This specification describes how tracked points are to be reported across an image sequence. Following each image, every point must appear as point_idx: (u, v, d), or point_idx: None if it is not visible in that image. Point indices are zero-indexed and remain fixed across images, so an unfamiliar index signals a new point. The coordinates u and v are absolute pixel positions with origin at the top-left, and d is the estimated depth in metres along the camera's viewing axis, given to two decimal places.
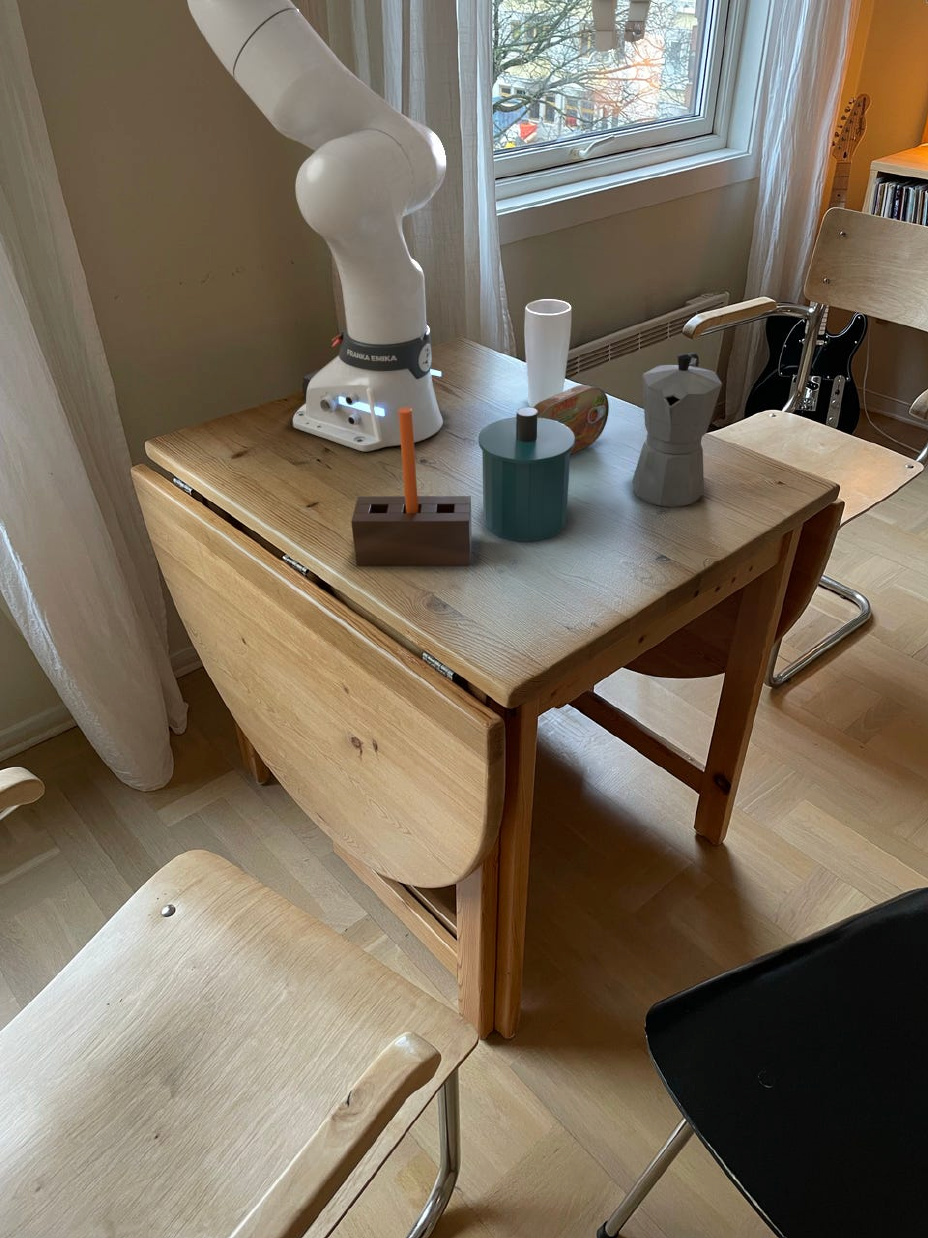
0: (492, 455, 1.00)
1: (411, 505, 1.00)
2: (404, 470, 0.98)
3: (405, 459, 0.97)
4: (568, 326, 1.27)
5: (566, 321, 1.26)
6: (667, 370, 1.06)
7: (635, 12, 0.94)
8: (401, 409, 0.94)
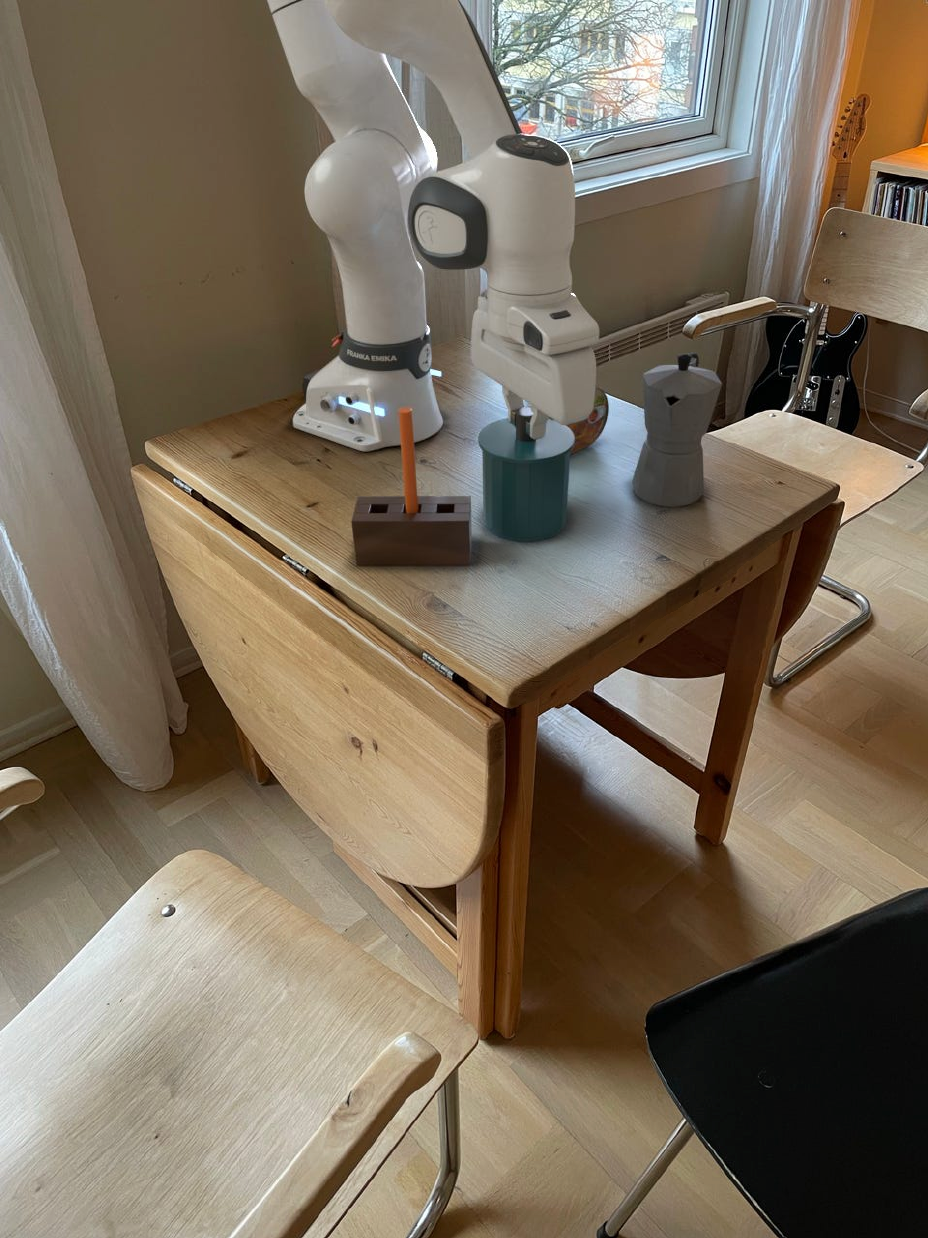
0: (492, 455, 1.00)
1: (411, 505, 1.00)
2: (404, 470, 0.98)
3: (405, 459, 0.97)
4: None
5: None
6: (667, 370, 1.06)
7: (514, 402, 1.03)
8: (401, 409, 0.94)
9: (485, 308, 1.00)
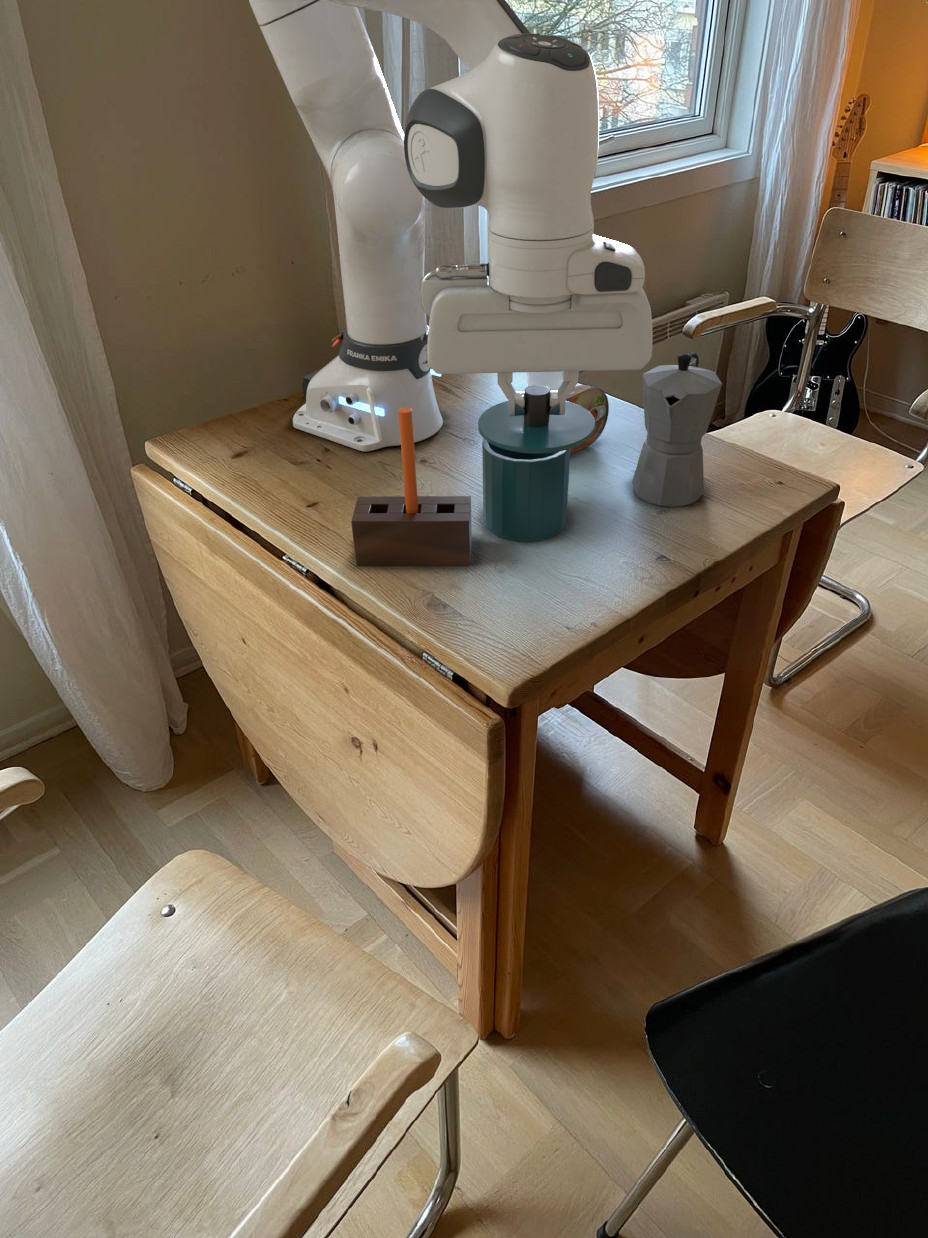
0: (554, 450, 0.81)
1: (411, 505, 1.00)
2: (404, 470, 0.98)
3: (405, 459, 0.97)
4: None
5: None
6: (667, 370, 1.06)
7: (512, 389, 0.83)
8: (401, 409, 0.94)
9: (452, 289, 0.77)
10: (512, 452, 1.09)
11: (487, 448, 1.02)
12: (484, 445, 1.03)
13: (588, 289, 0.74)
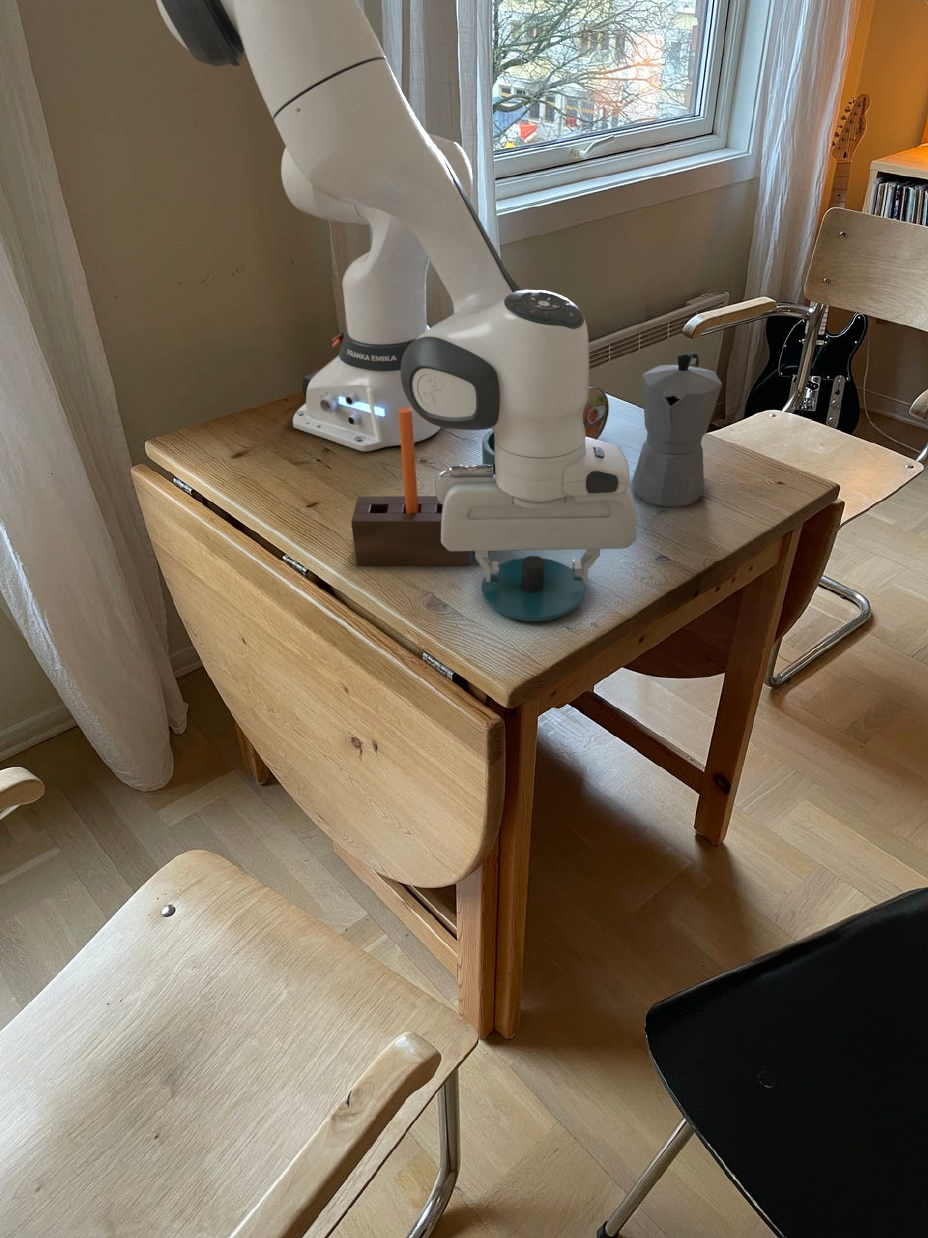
0: (548, 618, 0.93)
1: (411, 505, 1.00)
2: (404, 470, 0.98)
3: (405, 459, 0.97)
4: None
5: None
6: (667, 370, 1.06)
7: (488, 561, 0.95)
8: (401, 409, 0.94)
9: (463, 486, 0.89)
10: None
11: (487, 448, 1.02)
12: (484, 445, 1.03)
13: (581, 492, 0.86)
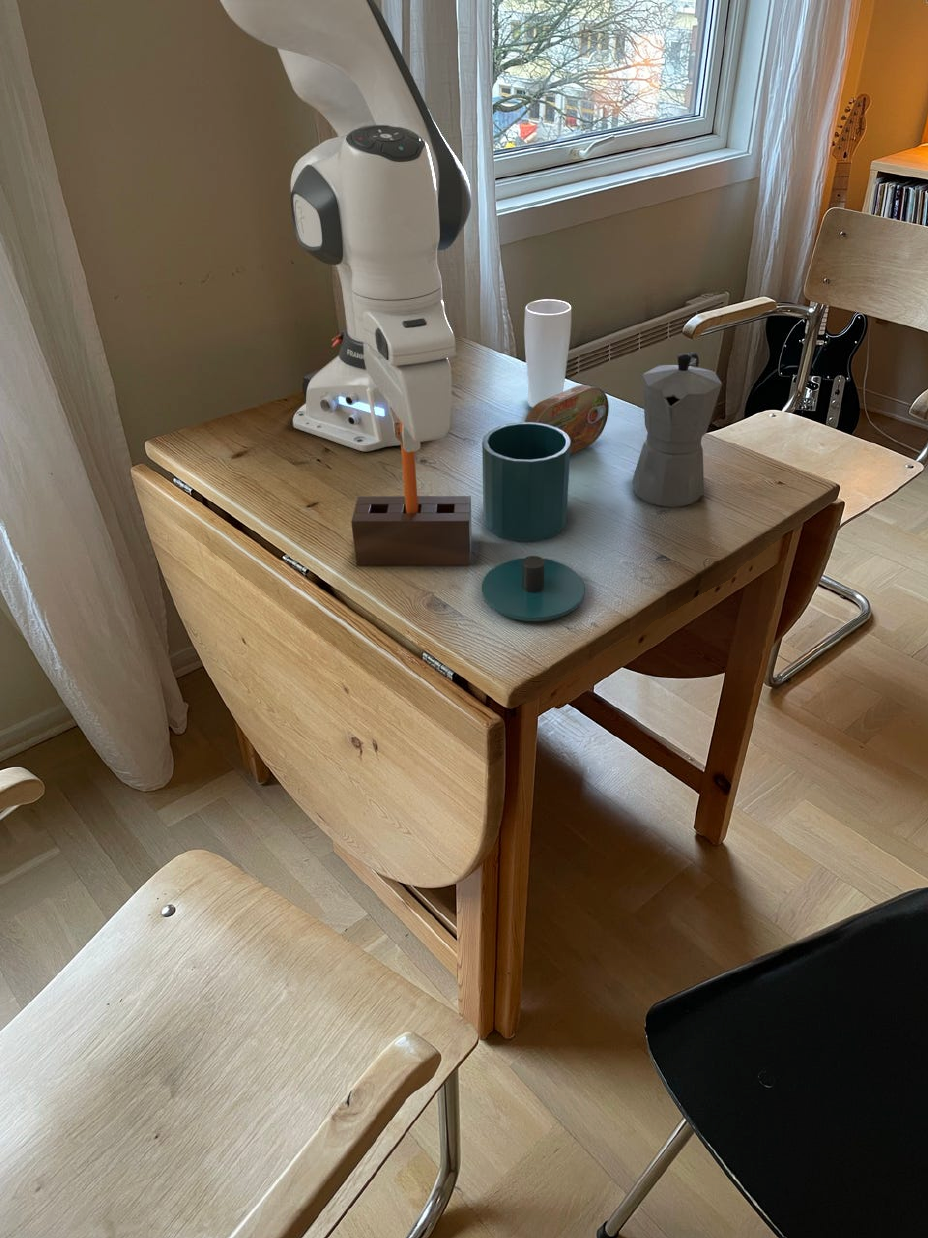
0: (548, 618, 0.93)
1: (411, 505, 1.00)
2: (404, 470, 0.98)
3: (405, 459, 0.97)
4: (568, 326, 1.27)
5: (566, 321, 1.26)
6: (667, 370, 1.06)
7: None
8: None
9: None
10: (512, 452, 1.09)
11: (487, 448, 1.02)
12: (484, 445, 1.03)
13: (374, 346, 0.85)
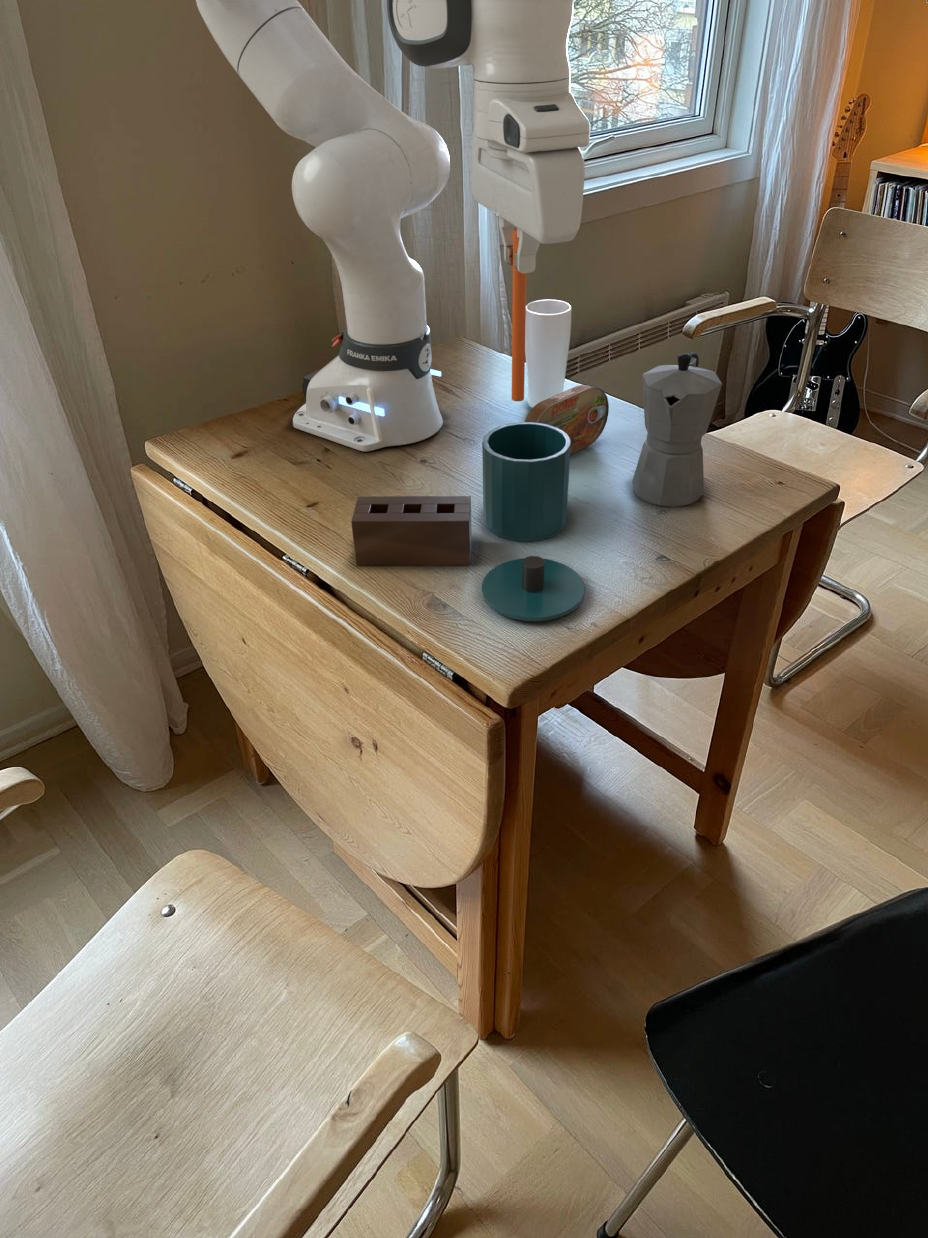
0: (548, 618, 0.93)
1: (519, 341, 0.95)
2: (514, 300, 0.93)
3: (516, 287, 0.92)
4: (568, 326, 1.27)
5: (566, 321, 1.26)
6: (667, 370, 1.06)
7: (511, 237, 0.91)
8: (516, 229, 0.89)
9: None
10: (512, 452, 1.09)
11: (487, 448, 1.02)
12: (484, 445, 1.03)
13: (500, 139, 0.80)
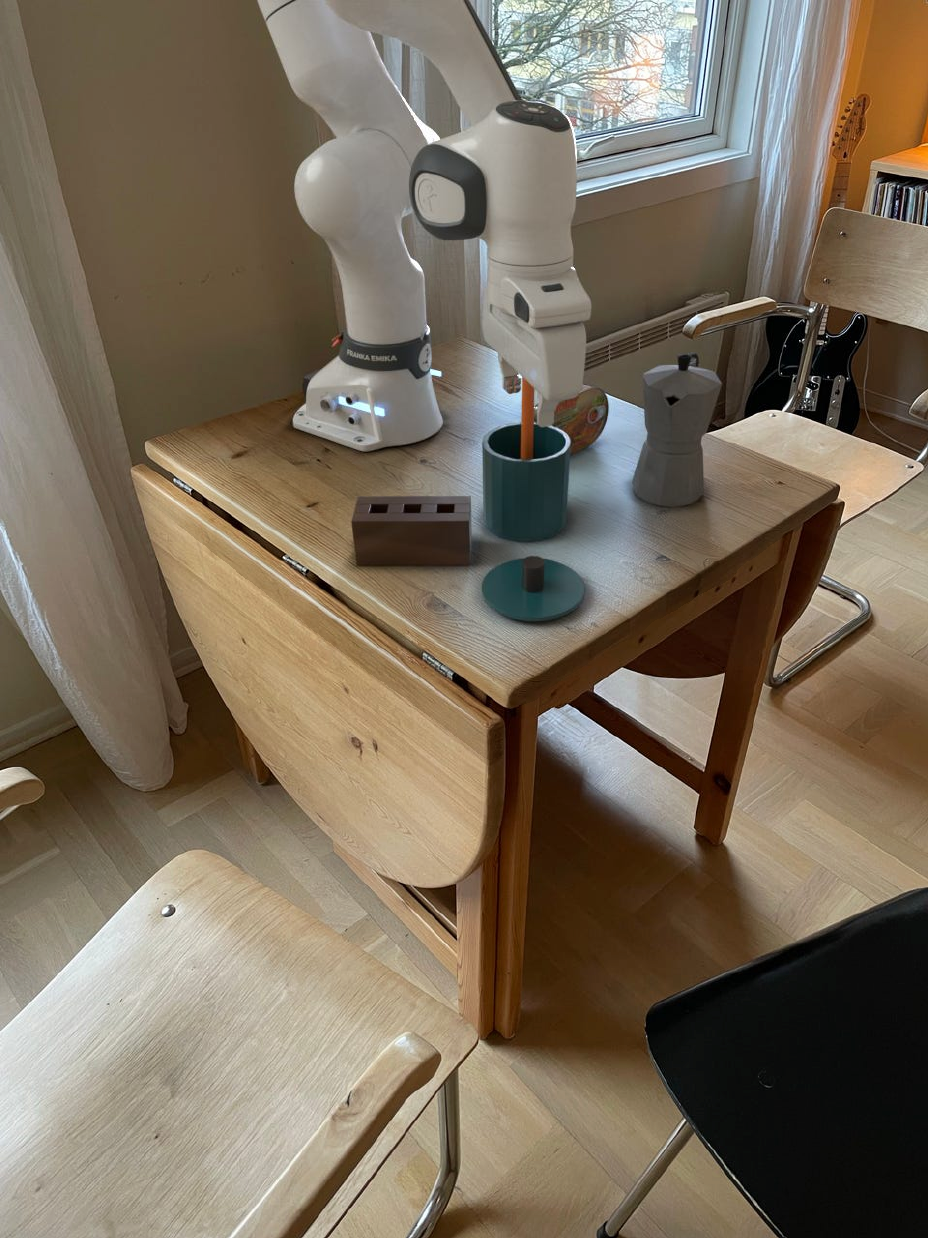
0: (548, 618, 0.93)
1: None
2: (523, 434, 1.02)
3: (525, 423, 1.01)
4: None
5: None
6: (667, 370, 1.06)
7: (508, 369, 1.03)
8: None
9: None
10: (512, 452, 1.09)
11: (487, 448, 1.02)
12: (484, 445, 1.03)
13: (511, 310, 0.90)
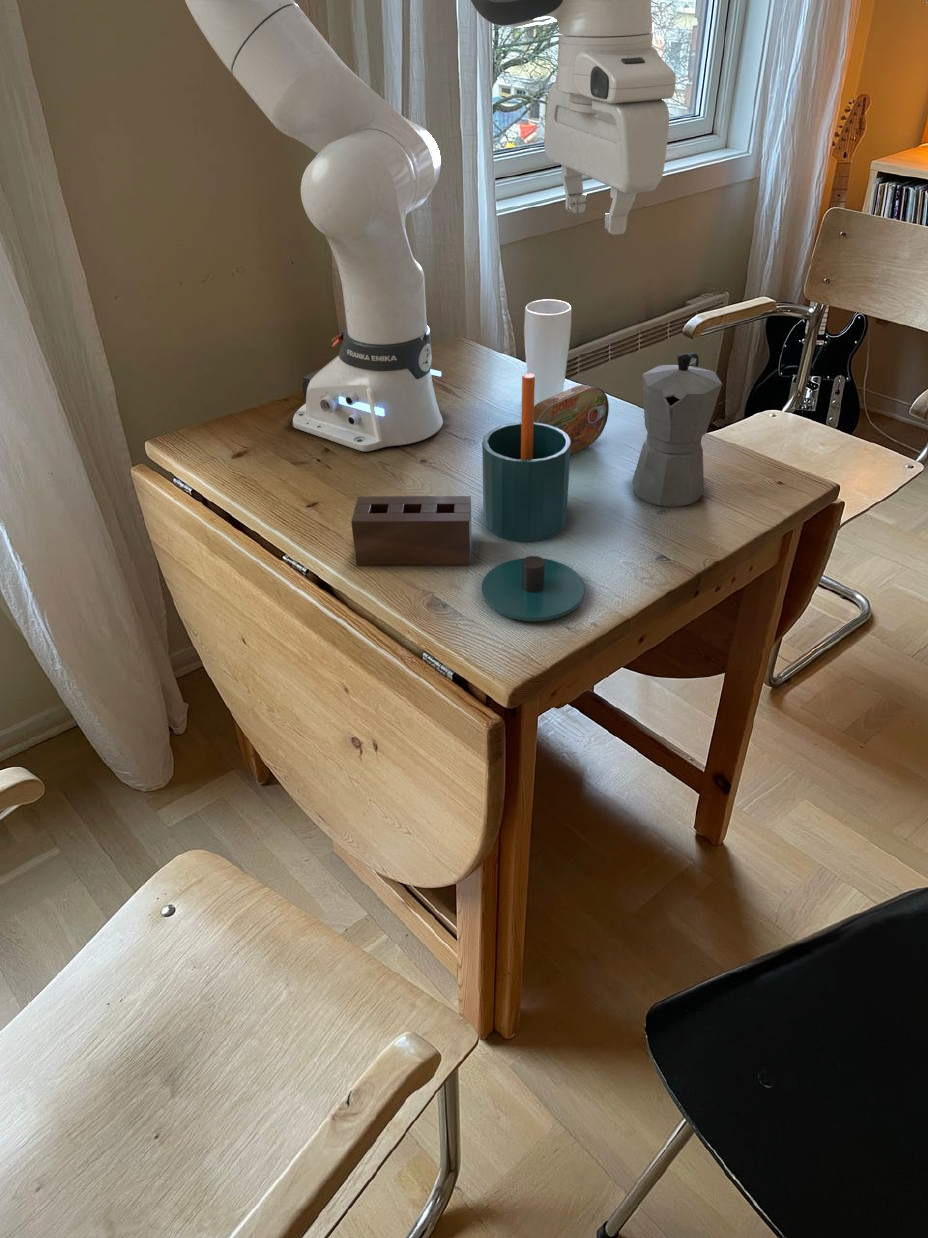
0: (548, 618, 0.93)
1: None
2: (523, 434, 1.02)
3: (525, 423, 1.01)
4: (568, 326, 1.27)
5: (566, 321, 1.26)
6: (667, 370, 1.06)
7: (573, 186, 0.96)
8: (524, 375, 0.99)
9: None
10: (512, 452, 1.09)
11: (487, 448, 1.02)
12: (484, 445, 1.03)
13: (586, 91, 0.83)
